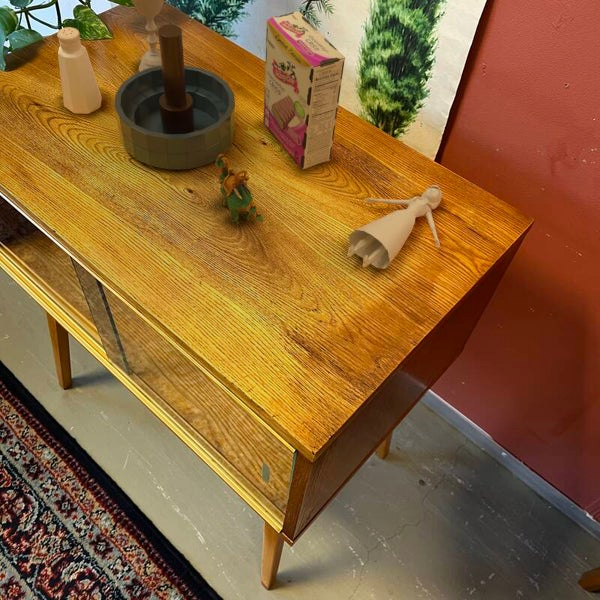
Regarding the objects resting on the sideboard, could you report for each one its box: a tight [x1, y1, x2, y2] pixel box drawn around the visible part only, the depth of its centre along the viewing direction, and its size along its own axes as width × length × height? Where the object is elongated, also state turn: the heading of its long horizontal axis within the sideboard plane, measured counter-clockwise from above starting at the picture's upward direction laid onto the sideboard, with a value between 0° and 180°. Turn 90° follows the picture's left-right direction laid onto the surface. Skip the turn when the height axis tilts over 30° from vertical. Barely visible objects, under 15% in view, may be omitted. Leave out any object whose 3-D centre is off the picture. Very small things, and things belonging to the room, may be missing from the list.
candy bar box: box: [262, 10, 346, 171], centre depth 87 cm, size 11×5×16 cm, turn 31°
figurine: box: [214, 154, 265, 225], centre depth 81 cm, size 3×12×8 cm, turn 31°
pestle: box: [157, 23, 195, 134], centre depth 86 cm, size 4×4×15 cm
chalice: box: [130, 0, 165, 72], centre depth 94 cm, size 7×7×18 cm
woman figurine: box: [347, 184, 443, 270], centre depth 83 cm, size 12×4×18 cm
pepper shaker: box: [56, 26, 103, 115], centre depth 91 cm, size 5×5×11 cm
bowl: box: [113, 64, 236, 171], centre depth 90 cm, size 16×16×6 cm
